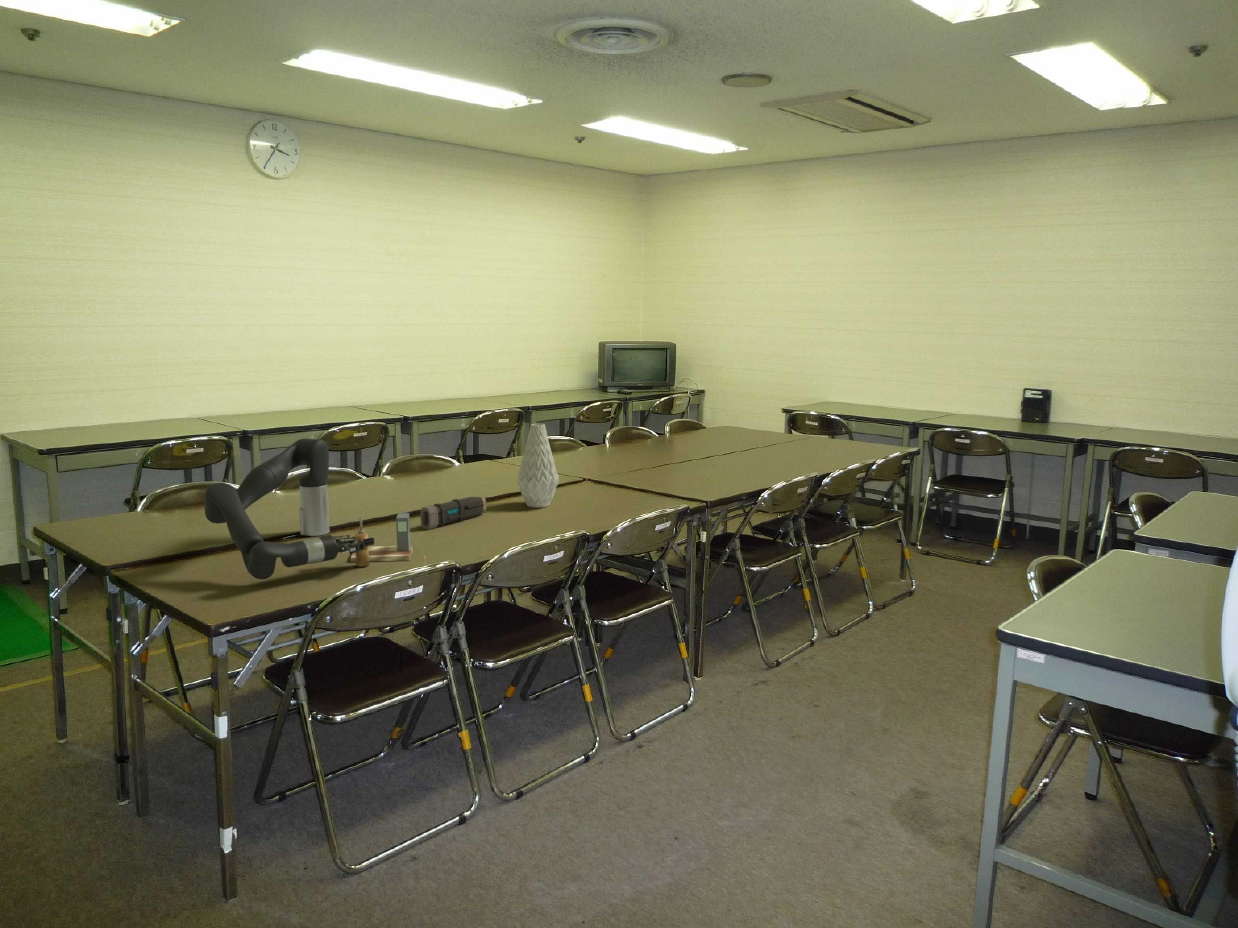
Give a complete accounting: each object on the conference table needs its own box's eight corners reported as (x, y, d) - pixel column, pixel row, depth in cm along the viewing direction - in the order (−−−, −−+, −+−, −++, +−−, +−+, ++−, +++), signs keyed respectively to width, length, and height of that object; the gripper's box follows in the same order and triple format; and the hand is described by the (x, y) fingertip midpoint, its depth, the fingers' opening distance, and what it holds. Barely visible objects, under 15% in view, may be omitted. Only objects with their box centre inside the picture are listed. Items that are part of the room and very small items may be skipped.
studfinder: (397, 551, 286) (396, 518, 284) (399, 545, 292) (398, 513, 290) (408, 551, 286) (407, 517, 284) (410, 545, 293) (409, 513, 291)
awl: (355, 566, 273) (353, 519, 270) (357, 563, 277) (355, 516, 274) (368, 566, 274) (366, 518, 271) (369, 562, 277) (367, 515, 275)
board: (350, 562, 279) (350, 557, 279) (356, 551, 291) (356, 546, 290) (409, 560, 282) (409, 555, 281) (412, 549, 293) (412, 545, 293)
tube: (491, 523, 340) (432, 529, 316) (478, 524, 344) (419, 531, 320) (488, 495, 341) (429, 498, 317) (476, 496, 345) (416, 500, 321)
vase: (565, 507, 354) (565, 426, 348) (525, 511, 347) (525, 428, 341) (550, 499, 369) (550, 420, 363) (512, 502, 362) (511, 422, 356)
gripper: (328, 542, 258) (381, 532, 270) (305, 532, 268) (358, 523, 280) (329, 567, 260) (382, 556, 272) (307, 556, 270) (359, 546, 281)
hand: (369, 539), depth 276 cm, fingers closed on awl, 3 cm apart
